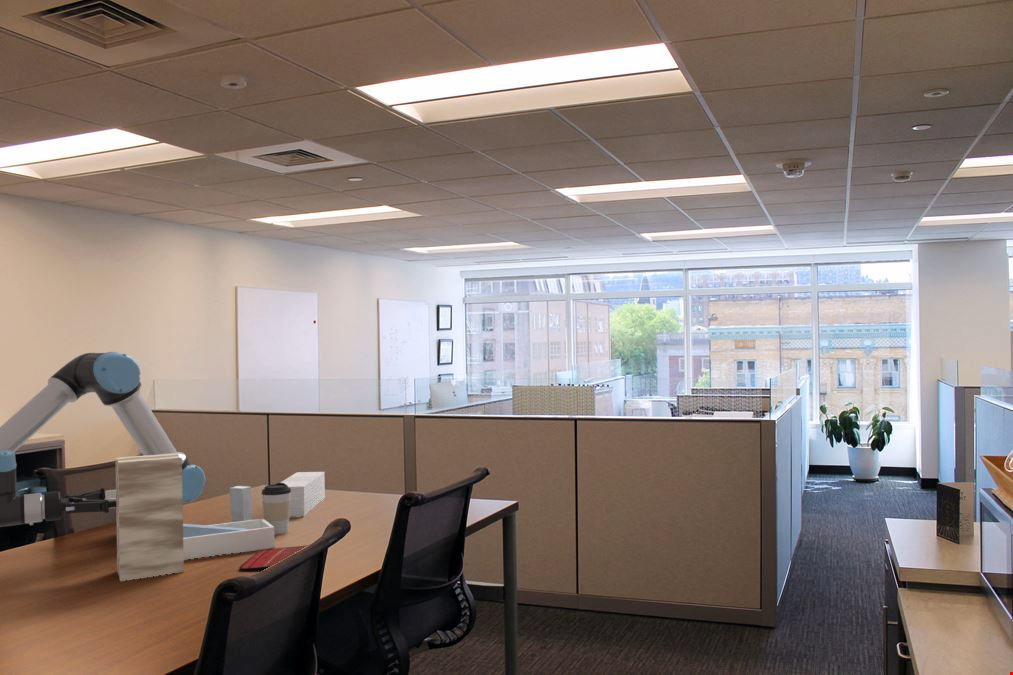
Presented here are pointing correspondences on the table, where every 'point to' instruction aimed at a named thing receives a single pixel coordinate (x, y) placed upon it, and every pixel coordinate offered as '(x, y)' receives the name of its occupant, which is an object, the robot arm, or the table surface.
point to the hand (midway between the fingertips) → (133, 496)
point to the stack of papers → (305, 491)
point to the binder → (268, 558)
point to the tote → (231, 540)
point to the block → (206, 530)
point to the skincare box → (241, 503)
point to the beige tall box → (149, 516)
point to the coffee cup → (277, 506)
